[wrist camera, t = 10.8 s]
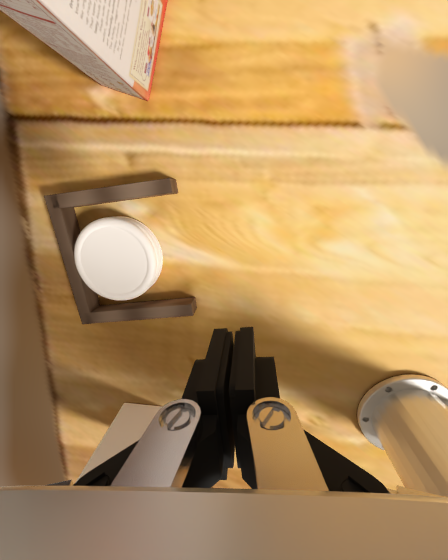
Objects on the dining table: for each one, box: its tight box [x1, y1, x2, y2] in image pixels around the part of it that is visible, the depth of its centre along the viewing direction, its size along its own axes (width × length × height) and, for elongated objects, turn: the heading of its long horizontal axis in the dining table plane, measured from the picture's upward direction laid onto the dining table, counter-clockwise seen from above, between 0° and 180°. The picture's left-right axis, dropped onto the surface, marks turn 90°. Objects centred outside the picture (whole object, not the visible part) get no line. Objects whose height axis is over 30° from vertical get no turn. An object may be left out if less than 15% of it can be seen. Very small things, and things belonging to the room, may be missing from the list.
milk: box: [76, 403, 162, 482], centre depth 31 cm, size 6×6×22 cm
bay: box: [44, 178, 197, 324], centre depth 33 cm, size 15×16×2 cm
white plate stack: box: [74, 216, 163, 300], centre depth 32 cm, size 10×10×4 cm
